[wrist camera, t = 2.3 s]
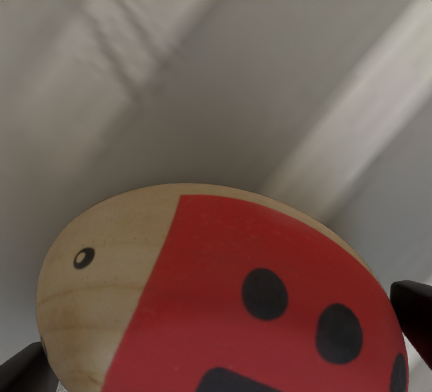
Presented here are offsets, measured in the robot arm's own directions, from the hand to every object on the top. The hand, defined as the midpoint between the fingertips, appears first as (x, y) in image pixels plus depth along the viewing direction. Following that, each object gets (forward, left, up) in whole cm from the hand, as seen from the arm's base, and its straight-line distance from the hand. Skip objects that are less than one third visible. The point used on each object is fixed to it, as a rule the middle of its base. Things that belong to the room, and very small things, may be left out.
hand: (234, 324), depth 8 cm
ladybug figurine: (0, 0, -1) cm, 1 cm away
